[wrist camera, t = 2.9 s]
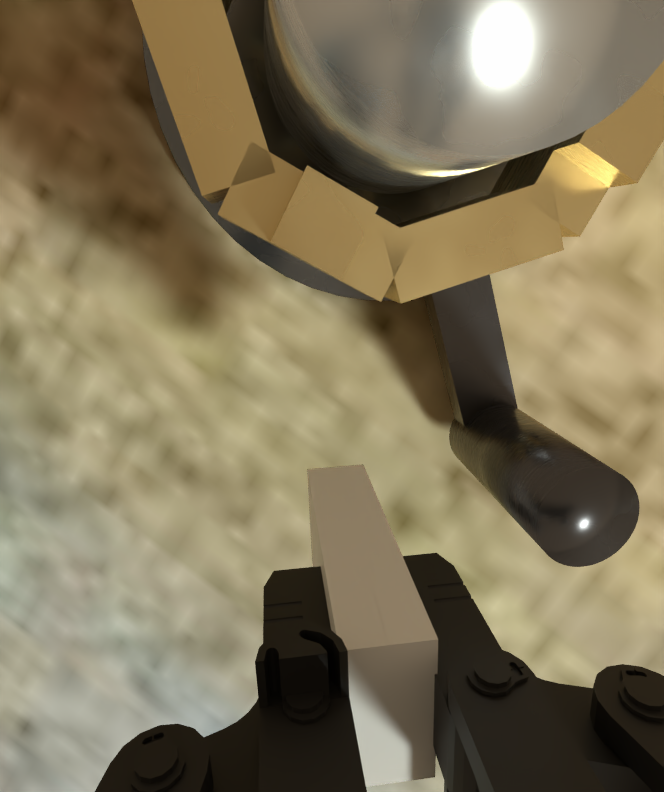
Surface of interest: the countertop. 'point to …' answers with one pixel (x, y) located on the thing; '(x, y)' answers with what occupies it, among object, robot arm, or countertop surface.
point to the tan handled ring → (426, 261)
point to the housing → (423, 94)
